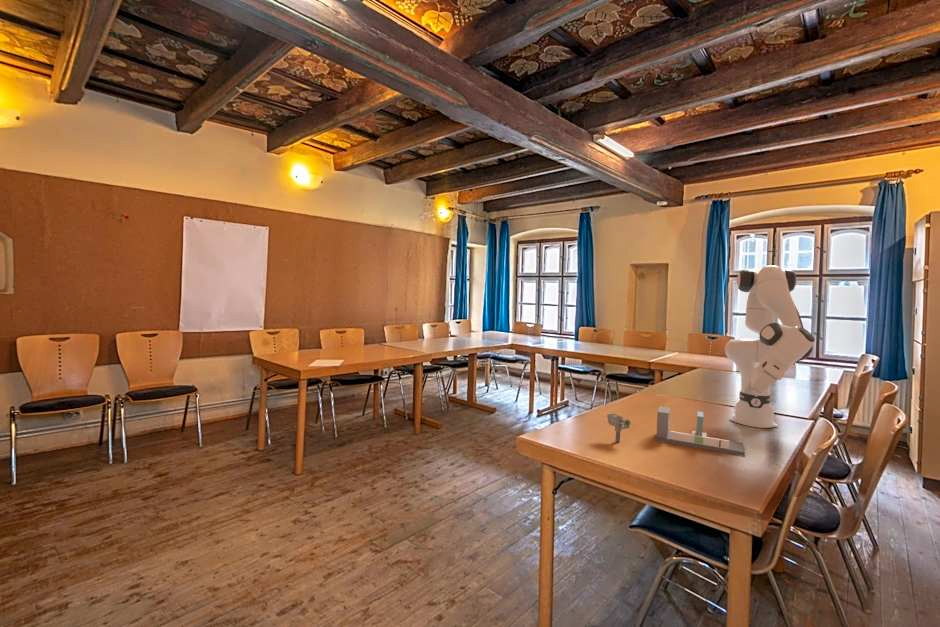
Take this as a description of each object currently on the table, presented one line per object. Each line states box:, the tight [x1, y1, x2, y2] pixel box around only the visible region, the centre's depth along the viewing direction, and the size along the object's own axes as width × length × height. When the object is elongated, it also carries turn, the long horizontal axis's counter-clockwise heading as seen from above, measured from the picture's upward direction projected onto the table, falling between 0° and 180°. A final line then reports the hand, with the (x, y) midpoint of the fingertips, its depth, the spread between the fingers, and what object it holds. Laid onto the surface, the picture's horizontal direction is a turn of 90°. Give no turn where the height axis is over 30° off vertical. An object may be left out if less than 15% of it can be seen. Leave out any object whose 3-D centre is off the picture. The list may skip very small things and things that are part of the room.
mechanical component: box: [606, 413, 631, 444], centre depth 170 cm, size 3×10×10 cm, turn 27°
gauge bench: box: [655, 406, 746, 457], centre depth 171 cm, size 12×30×12 cm, turn 62°
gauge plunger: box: [691, 411, 707, 437], centre depth 170 cm, size 10×5×10 cm, turn 152°
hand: (745, 391), depth 166 cm, fingers closed
